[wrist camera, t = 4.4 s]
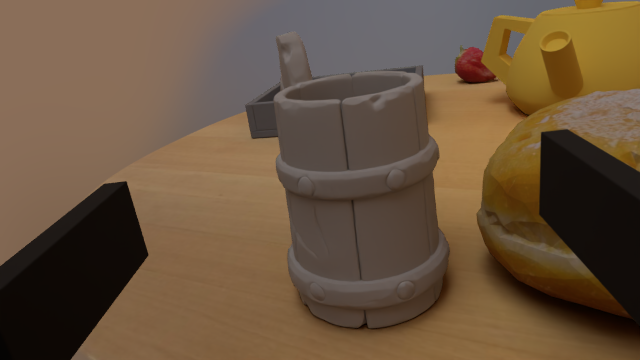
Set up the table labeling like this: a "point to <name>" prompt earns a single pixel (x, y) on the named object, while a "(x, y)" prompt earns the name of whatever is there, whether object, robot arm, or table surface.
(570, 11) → the teapot
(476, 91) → the table surface
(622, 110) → the bread
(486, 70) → the fruit
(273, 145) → the table surface
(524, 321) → the table surface
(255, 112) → the tray
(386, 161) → the mug
